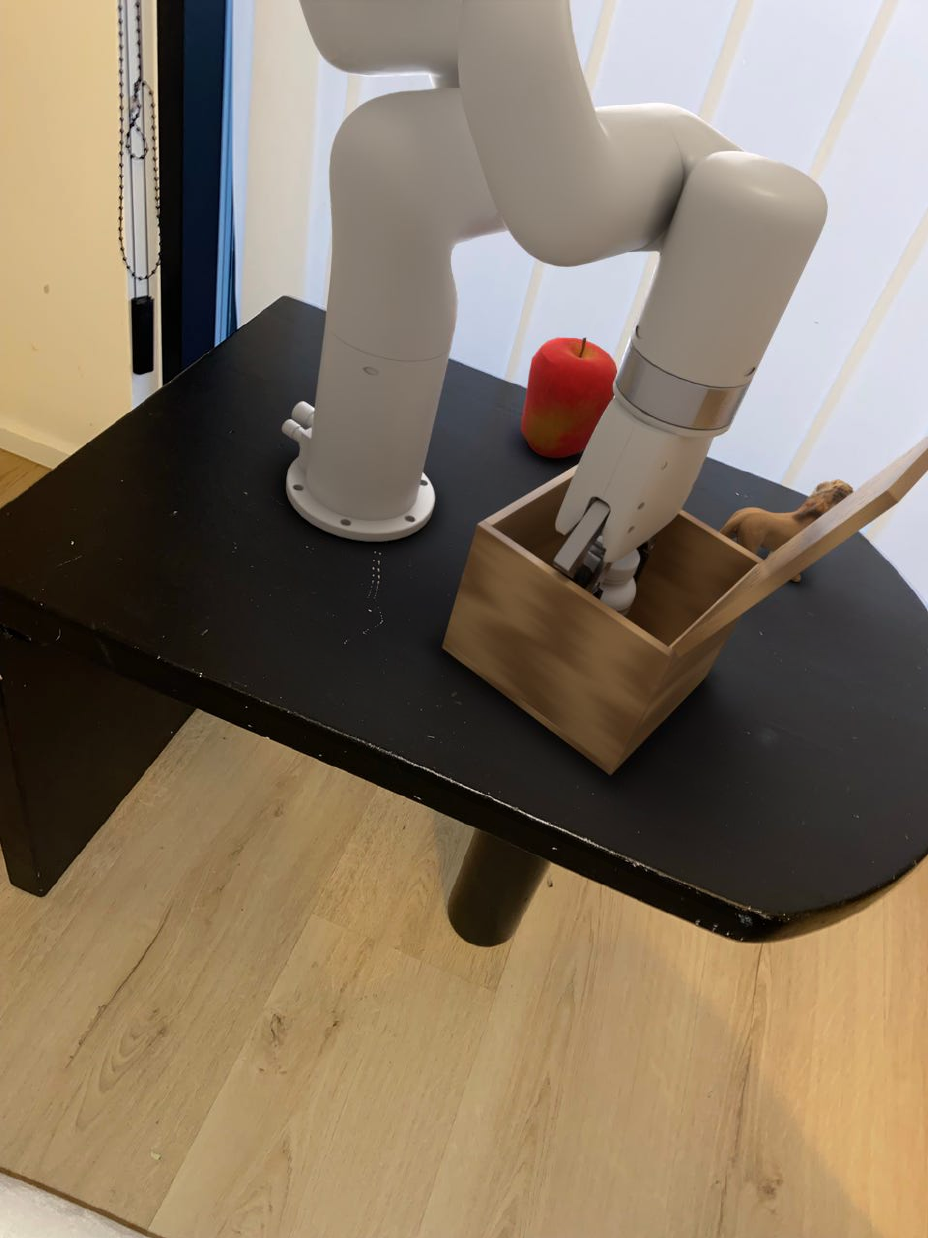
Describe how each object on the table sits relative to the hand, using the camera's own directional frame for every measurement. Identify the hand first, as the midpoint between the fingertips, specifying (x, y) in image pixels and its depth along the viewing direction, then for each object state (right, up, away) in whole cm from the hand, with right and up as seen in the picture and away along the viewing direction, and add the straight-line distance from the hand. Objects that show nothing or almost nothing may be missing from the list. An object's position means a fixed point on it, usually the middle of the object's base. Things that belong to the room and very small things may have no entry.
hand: (590, 601), depth 68 cm
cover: (+11, +4, -13) cm, 18 cm away
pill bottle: (-1, -4, +3) cm, 5 cm away
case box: (0, -5, +4) cm, 6 cm away
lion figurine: (+17, +3, +18) cm, 25 cm away
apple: (-1, +16, +25) cm, 30 cm away
